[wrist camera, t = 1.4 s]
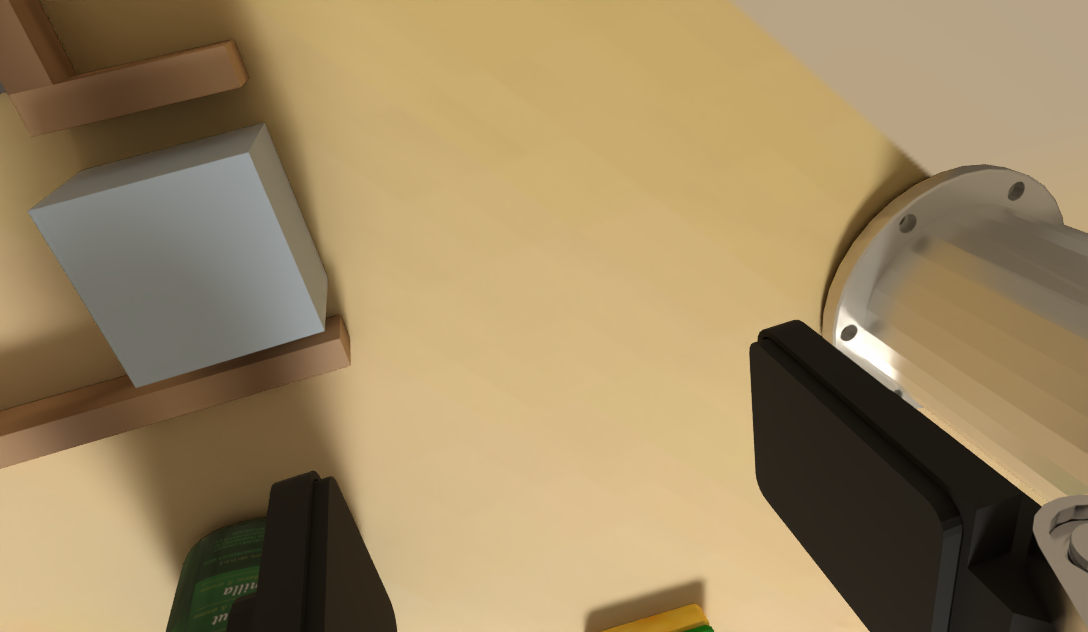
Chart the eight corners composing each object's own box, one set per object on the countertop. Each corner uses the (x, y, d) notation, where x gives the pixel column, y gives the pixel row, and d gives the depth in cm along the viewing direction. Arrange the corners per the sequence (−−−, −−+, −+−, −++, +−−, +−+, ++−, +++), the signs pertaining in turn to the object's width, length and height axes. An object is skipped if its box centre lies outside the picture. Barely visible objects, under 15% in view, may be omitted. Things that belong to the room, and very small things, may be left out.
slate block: (265, 121, 23) (248, 152, 19) (327, 277, 26) (324, 331, 22) (82, 169, 23) (28, 211, 19) (168, 323, 26) (135, 387, 22)
